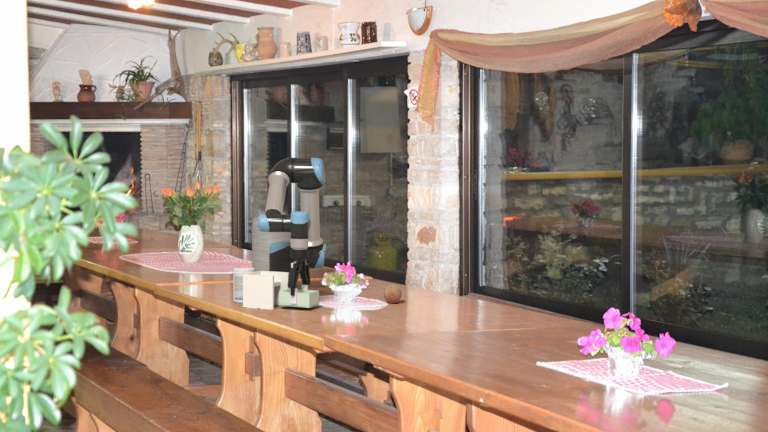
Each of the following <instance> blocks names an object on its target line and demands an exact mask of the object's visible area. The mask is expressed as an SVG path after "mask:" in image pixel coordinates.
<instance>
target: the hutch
mask: <svg viewBox="0 0 768 432" xmlns="http://www.w3.org/2000/svg"><path fill="white" fill-rule="evenodd" d="M288 277H289V272H275V271H256V272H251V273H247V274H243V303H242V308H243V307H247V309H257V308H260V309H259V310H275V305H278V306H279V291H282V290H286V289H289V288H288Z"/></svg>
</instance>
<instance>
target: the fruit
mask: <svg viewBox="0 0 768 432" xmlns="http://www.w3.org/2000/svg"><path fill="white" fill-rule="evenodd" d="M402 296H403V295H402V289H401V288H400V286H398V285H396V284H389V285H387V286H386V287H385V288H384V290H383V298H384V300H385V301H386V302H387V303H388V304H390V305H391V304H397V303H399V302H400V300H401V298H402Z"/></svg>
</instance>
